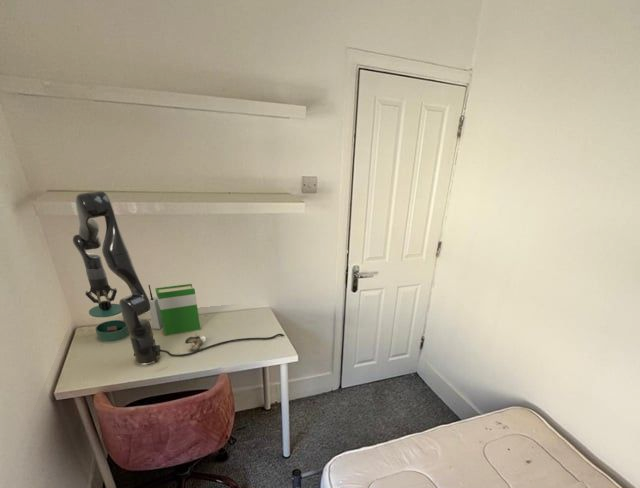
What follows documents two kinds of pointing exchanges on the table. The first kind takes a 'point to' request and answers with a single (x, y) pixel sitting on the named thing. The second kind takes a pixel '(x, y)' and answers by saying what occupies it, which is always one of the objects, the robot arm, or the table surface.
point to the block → (112, 329)
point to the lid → (105, 310)
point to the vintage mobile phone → (155, 312)
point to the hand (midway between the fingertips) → (106, 308)
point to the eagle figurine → (197, 341)
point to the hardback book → (178, 308)
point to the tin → (112, 336)
